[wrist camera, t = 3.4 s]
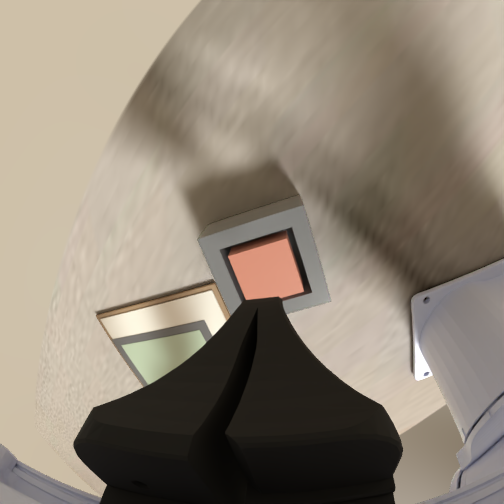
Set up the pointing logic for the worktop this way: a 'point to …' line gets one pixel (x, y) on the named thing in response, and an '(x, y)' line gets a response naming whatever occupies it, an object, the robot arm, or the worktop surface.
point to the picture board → (165, 330)
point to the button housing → (258, 226)
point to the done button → (266, 267)
